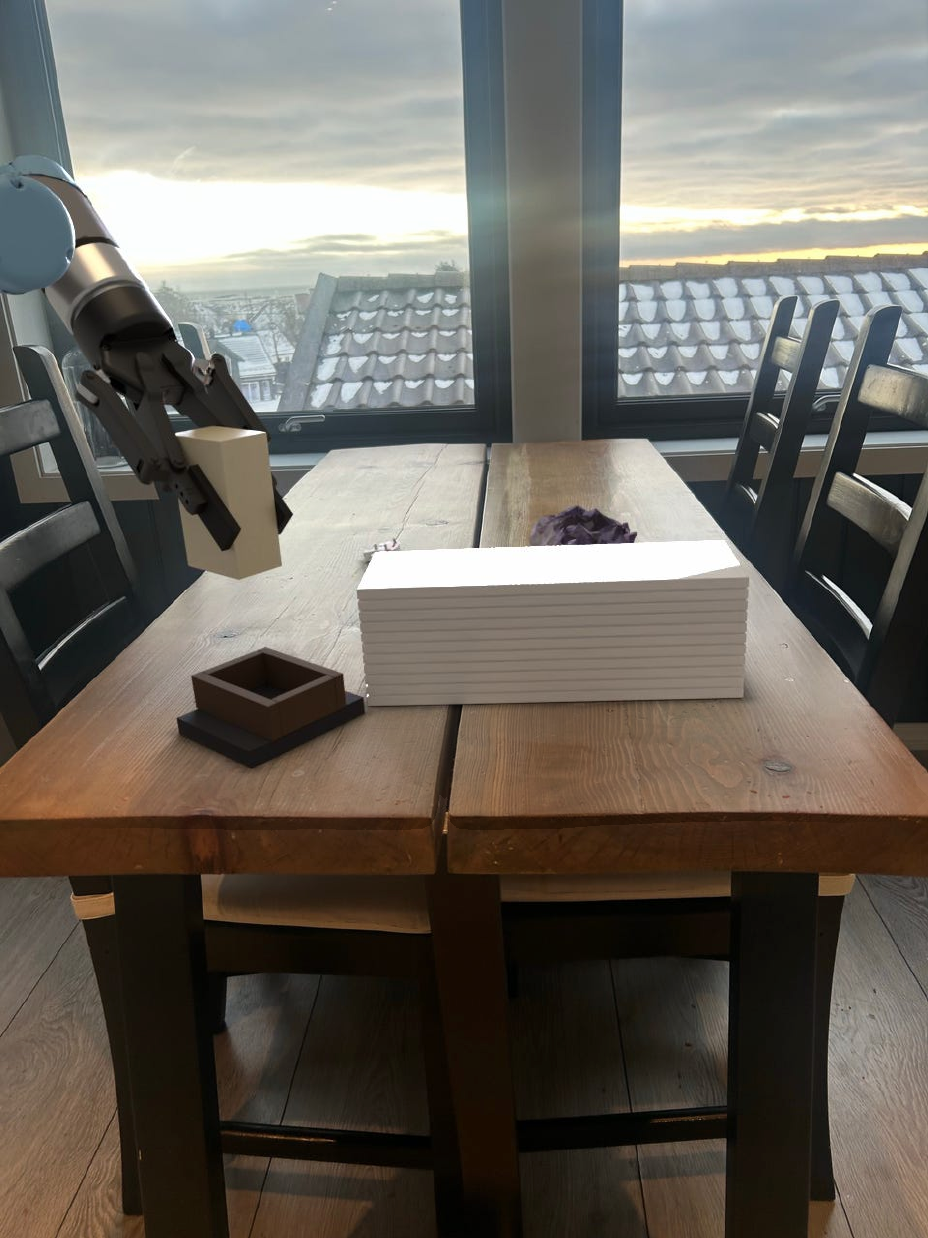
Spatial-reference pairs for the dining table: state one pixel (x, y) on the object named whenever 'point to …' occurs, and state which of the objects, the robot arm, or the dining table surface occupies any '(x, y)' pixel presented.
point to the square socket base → (266, 705)
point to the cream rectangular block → (233, 501)
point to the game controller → (383, 549)
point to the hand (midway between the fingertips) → (257, 532)
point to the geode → (579, 529)
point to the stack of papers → (554, 624)
